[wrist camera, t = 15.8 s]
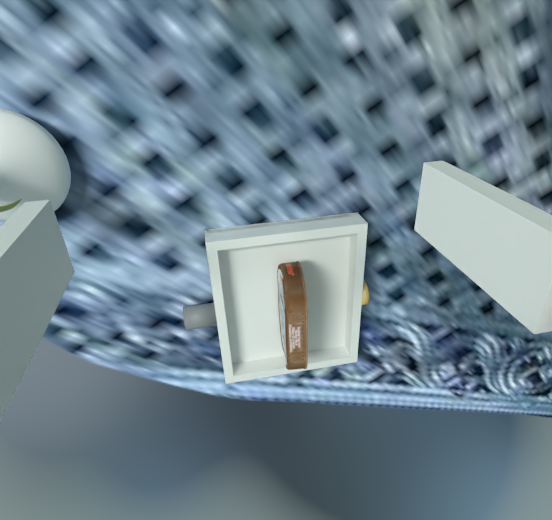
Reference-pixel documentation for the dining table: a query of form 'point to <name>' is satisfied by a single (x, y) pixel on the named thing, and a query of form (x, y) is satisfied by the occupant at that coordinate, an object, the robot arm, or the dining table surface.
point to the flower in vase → (29, 165)
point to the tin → (293, 314)
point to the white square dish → (264, 292)
